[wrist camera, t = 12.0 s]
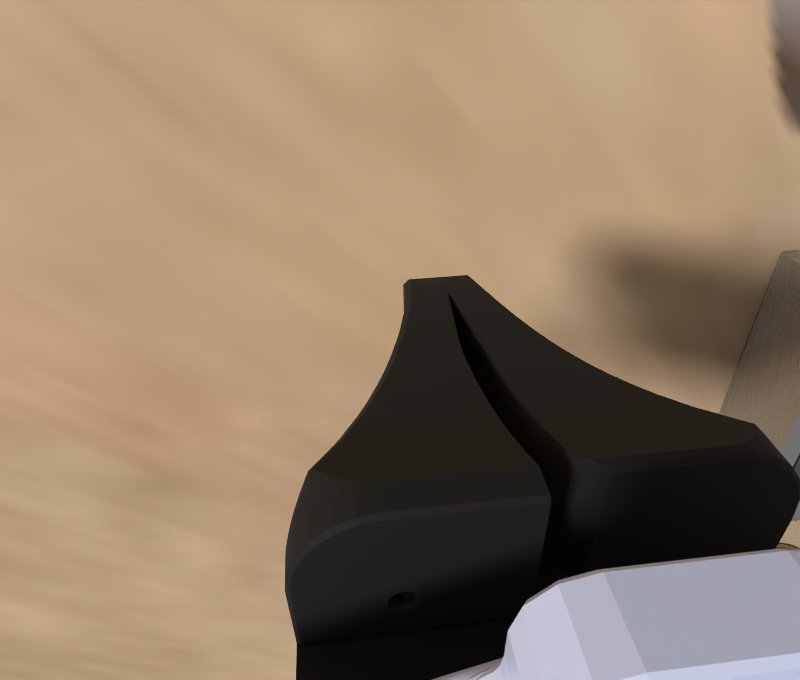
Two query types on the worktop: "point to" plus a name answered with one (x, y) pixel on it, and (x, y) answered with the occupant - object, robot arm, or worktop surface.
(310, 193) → the worktop surface
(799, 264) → the rack
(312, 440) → the worktop surface
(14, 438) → the worktop surface
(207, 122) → the worktop surface
